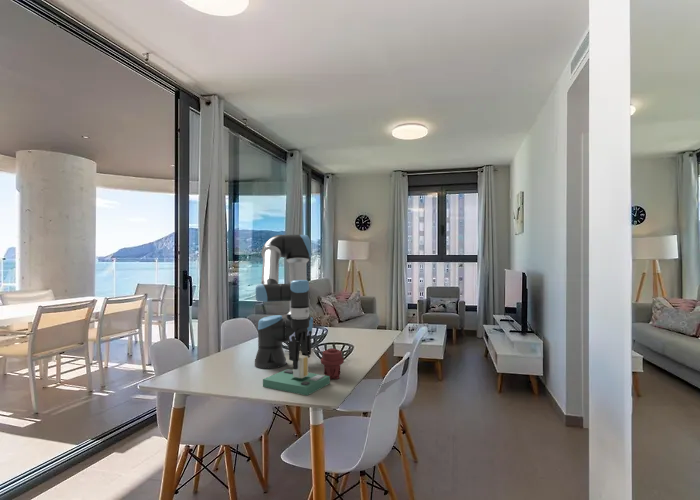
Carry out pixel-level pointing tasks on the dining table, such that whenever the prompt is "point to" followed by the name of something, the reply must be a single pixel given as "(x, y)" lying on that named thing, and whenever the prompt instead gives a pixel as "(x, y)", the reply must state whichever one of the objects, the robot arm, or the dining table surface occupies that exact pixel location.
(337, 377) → the mechanical component
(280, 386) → the board
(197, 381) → the dining table surface
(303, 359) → the plug
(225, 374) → the dining table surface
